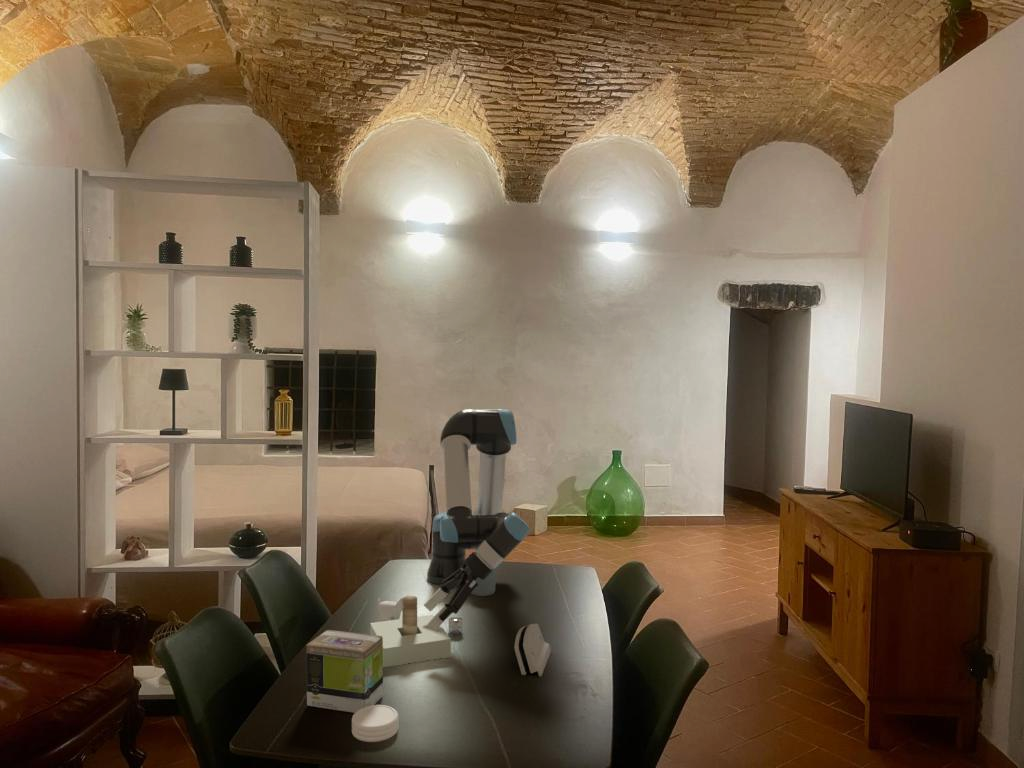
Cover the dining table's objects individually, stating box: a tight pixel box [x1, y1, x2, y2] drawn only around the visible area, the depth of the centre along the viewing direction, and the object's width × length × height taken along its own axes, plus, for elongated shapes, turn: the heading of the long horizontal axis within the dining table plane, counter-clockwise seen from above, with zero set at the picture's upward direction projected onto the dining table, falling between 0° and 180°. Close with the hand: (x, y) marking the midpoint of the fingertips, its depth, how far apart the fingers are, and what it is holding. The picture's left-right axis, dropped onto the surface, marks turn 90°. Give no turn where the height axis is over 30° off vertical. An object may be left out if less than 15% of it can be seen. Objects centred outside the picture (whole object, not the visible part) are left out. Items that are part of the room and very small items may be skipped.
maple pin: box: [401, 595, 418, 636], centre depth 201 cm, size 4×4×14 cm
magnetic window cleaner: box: [513, 623, 552, 677], centre depth 195 cm, size 17×5×10 cm, turn 168°
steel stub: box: [447, 616, 463, 637], centre depth 213 cm, size 4×4×4 cm
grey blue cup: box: [467, 553, 498, 597], centre depth 247 cm, size 10×10×12 cm
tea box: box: [305, 629, 384, 714], centre depth 172 cm, size 15×10×15 cm
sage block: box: [369, 614, 452, 668], centre depth 201 cm, size 18×18×5 cm
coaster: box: [351, 704, 400, 743], centre depth 160 cm, size 10×10×4 cm
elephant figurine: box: [376, 595, 403, 622], centre depth 220 cm, size 8×10×7 cm
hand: (429, 617), depth 202 cm, fingers open, 13 cm apart
